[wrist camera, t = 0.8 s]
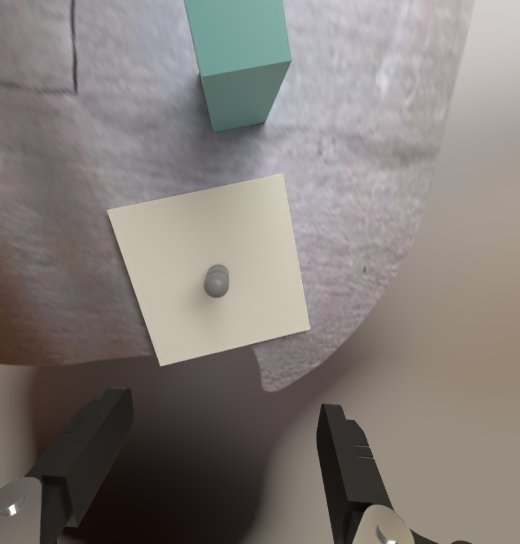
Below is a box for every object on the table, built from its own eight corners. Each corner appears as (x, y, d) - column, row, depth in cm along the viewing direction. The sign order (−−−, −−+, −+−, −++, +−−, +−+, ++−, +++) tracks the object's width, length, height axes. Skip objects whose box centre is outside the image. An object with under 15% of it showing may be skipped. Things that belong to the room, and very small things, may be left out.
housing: (213, 132, 27) (201, 76, 16) (199, 72, 26) (175, -38, 14) (265, 122, 28) (291, 60, 16) (254, 62, 26) (274, -54, 15)
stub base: (162, 360, 32) (147, 396, 26) (111, 209, 28) (78, 210, 22) (307, 325, 33) (325, 351, 27) (280, 174, 29) (294, 165, 23)
